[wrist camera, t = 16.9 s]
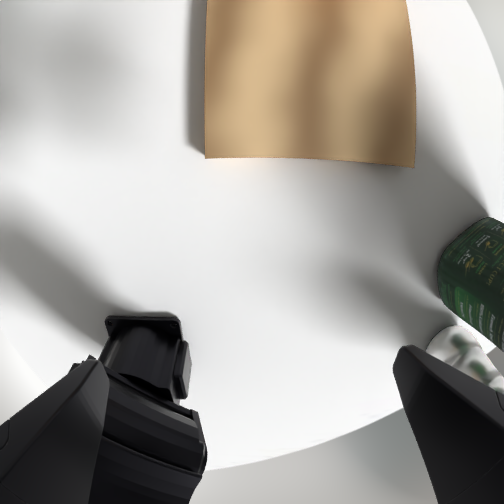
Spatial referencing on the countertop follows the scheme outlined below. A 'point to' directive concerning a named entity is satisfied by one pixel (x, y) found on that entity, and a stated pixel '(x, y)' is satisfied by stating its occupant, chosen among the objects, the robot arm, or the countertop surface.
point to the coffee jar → (476, 278)
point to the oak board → (310, 80)
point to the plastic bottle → (465, 356)
